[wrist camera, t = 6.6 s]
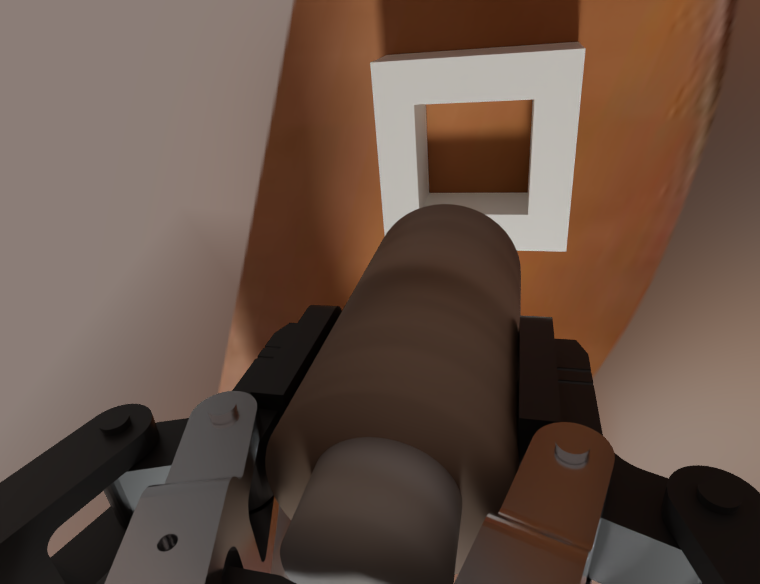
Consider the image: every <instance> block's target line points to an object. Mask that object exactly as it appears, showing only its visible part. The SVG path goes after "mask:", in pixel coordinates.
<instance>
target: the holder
mask: <svg viewBox="0 0 760 584" xmlns="http://www.w3.org/2000/svg"><path fill="white" fill-rule="evenodd" d="M584 58H585V48H584V47H583V46H582V45H581V44H580V43H579V42H567V43H552V44H538V45H523V46H509V47H494V48H480V49H465V50H451V51H436V52H422V53H407V54H393V55H385V56H383V57H381V58H379V59H377V60H375V61H373V62H371V63H370V65H371V77H372V89H373V101H374V113H375V125H376V137H377V149H378V161H379V172H380V184H381V196H382V208H383V220H384V232H385V235H386V234H387V232H388V231H389V230H390V228H391V227H392V226H393V225H394V224H395V223H396V222H397V221H398V220H399V219H401V218H402V217H404V216H405V215H406V214H408V213H410V212H412V211H414V210H416V209H419V208H422V207H425V206H430V205H437V204H454V205H460V206H465V207H468V208H471V209H474V210H477V211H479V212H481V213H483V214H485V215H486V216H488V217H490V218H491V219H493V220H494V221H495V222H496V223H497V224H499V225H500V226H501V227H502V228H503V229H504V230H505V232H506V233H507V234H508V236H509V237H510V238H511V240H512V242H513V244H514V246H515V248H516V250H519V251H565V252H566V247H567V236H568V226H569V215H570V205H571V194H572V184H573V173H574V163H575V152H576V142H577V131H578V121H579V110H580V100H581V90H582V79H583V69H584ZM530 99H533V103H532V121H531V140H530V158H529V177H528V193H429V173H428V147H427V121H426V104H441V103H464V102H486V101H508V100H530Z"/></svg>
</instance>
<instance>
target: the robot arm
mask: <svg viewBox="0 0 760 584" xmlns="http://www.w3.org/2000/svg"><path fill="white" fill-rule="evenodd" d="M341 312H342V310H341V308H340V307H339V306H321V305H310V306H309V307H308V308H307V310H306V311H305V313H304V314H303V316H302V317H301V319H300V320H299V322H298V323H289V324H288V325H286V326H285V327H283V328H282V329H280V330H279V331H277V332H276V333H274V335H273V336H272V337H271V339H270V340H269V341H268V343H267V344H266V345H265V348H263V350H262V351H261V352H260V354H259V355H258V358H257V359H255V360H254V362H253V363H252V365H251V366H250V367H249V369H248V370H247V371H246V373H245V374H244V375H243V377H242V378H241V379H240V381H239V382H238V384H237V385H236V386H235V388H234V389H233V390H232V391H228V392H222V393H219V394H216V395H213V396H211V397H209V398H207V399H205V400H204V401H202V402H201V403H200V404H198V405H197V406H196V408H195V409H194V410H193V411H192V413H191V415H190V417H189V418H187V419H179V420H172V421H164V422H157V423H155V420H154V418H153V415H152V413H151V410H150V409H149V408H148V407H146V406H144V405H140V404H126V405H121V406H117V407H114V408H111V409H109V410H107V411H105V412H103V413H101V414H99V415H98V416H96V417H95V418H93V419H92V420H90V421H89V422H87V423H86V424H85V425H83V426H82V427H80V428H79V429H77V430H76V431H75V432H73V433H72V434H70V435H69V436H67V437H66V438H64V439H63V440H61V441H60V442H59V443H57V444H56V445H54V446H53V447H51V448H50V449H48V450H47V451H45V452H44V453H43V454H41V455H40V456H38V457H37V458H35V459H34V460H33V461H31V462H30V463H28V464H27V465H25V466H24V467H22V468H21V469H20V470H18V471H17V472H15V473H14V474H12V475H11V476H9V477H8V478H6V479H5V480H4V481H2V482H1V483H0V584H296V583H294V582H293V581H291V580H290V579H289V578H288V576H287V575H286V573H285V571H284V569H283V566H282V563H281V559H280V547H281V543H282V540H283V538H284V536H285V533H286V531H287V529H288V527H289V524H290V522H291V520H290V518H289V517H288V516H287V515H286V514H285V513H284V511H283V510H282V508H281V507H280V505H279V504H278V502H277V500H276V498H275V496H274V495H273V493H272V490H271V488H270V485H269V482H268V479H267V474H266V467H265V456H266V450H267V445H268V442H269V440H270V437H271V435H272V433H273V431H274V430H275V428H276V426H277V424H278V423H279V421H280V419H281V417H282V416H283V414H284V412H285V410H286V409H287V407H288V405H289V403H290V402H291V400H292V398H293V396H294V395H295V393H296V391H297V389H298V388H299V386H300V384H301V382H302V381H303V379H304V377H305V375H306V373H307V372H308V370H309V368H310V366H311V365H312V363H313V361H314V359H315V358H316V356H317V354H318V352H319V351H320V349H321V347H322V345H323V344H324V342H325V340H326V338H327V337H328V335H329V333H330V331H331V330H332V328H333V326H334V324H335V323H336V321H337V319H338V317H339V316H340V314H341ZM518 450H519V469H518V471H517V473H516V475H515V478H514V480H513V482H512V484H511V487H510V489H509V491H508V493H507V496H506V498H505V500H504V502H503V504H502V507H501V509H500V511H499V512H498V514H497V513H495V512H490V513H489V514H488V515H487V516H486V518H485V520H484V522H483V524H482V526H481V528H480V530H479V532H478V534H477V536H476V538H475V540H474V543H473V545H472V547H471V549H470V551H469V553H468V555H467V557H466V560H465V562H464V564H463V566H462V568H461V570H460V572H459V574H458V577H457V579H456V581H455V583H454V584H592V580H594V581H597V582H598V583H601V584H760V493H759V492H758V491H757V490H756V489H755V488H754V487H752V486H751V485H750V484H749V483H747V482H746V481H744V480H743V479H741V478H739V477H737V476H735V475H734V474H731V473H729V472H727V471H724V470H721V469H718V468H714V467H709V466H699V465H698V466H687V467H683V468H681V469H678V470H677V471H675V472H674V473H673V474H672V475H671V476H670V477H669V479H668V478H665V477H662V476H659V475H656V474H654V473H651V472H648V471H645V470H642V469H640V468H637V467H635V466H633V465H631V464H629V463H628V462H626V461H624V460H623V459H621V458H620V457H619V456H618V455H616V454H615V453H614V451H613V448H612V446H611V445H610V443H609V442H608V441H607V440H606V438H605V437H603V434H602V429H601V424H600V418H599V412H598V407H597V401H596V396H595V390H594V386H593V379H592V373H591V368H590V362H589V357H588V353H587V352H586V351H585V350H584V349H583V348H582V347H581V345H580V344H579V343H578V342H577V341H576V340H567V339H554V330H553V319H552V317H537V316H520V322H519V371H518ZM103 490H104V493H105V495H106V497H107V499H108V501H109V503H110V505H111V507H109V508H108V509H107V510H106V511H105V512H104V513H103V514H101V515H100V516H99V517H98V518H97V519H95V520H94V521H93V522H92V523H91V524H90V525H88V526H87V527H86V528H85V529H84V530H83V531H81V532H80V533H79V534H78V535H77V536H75V537H74V538H73V539H72V540H71V541H70V542H68V543H67V544H66V545H65V546H64V547H63V548H61V549H60V550H59V551H58V552H57V553H56V554H54V555H53V556H52V557H51V558H50V557H49V555H48V552H47V546H48V542H49V540H50V537H51V536H52V535H53V533H54V532H55V531H56V529H57V528H58V527H60V526H61V525H62V524H63V523H64V522H66V521H67V520H68V519H69V518H70V517H72V516H73V515H74V514H75V513H76V512H78V511H79V510H80V509H81V508H83V507H84V506H85V505H86V504H88V503H89V502H90V501H91V500H92V499H94V498H95V497H96V496H97V495H99V494H100V493H101V492H102V491H103Z"/></svg>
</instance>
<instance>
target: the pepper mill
mask: <svg viewBox="0 0 760 584" xmlns="http://www.w3.org/2000/svg"><path fill="white" fill-rule="evenodd" d="M520 294H521V270H520V261H519V256H518V253H517V250H516V248H515V246H514V244H513V242H512V240H511V238H510V237H509V236H508V234H507V233H506V232H505V230H504V229H503V228H502V227H501V226H500V225H499V224H497V223H496V222H495V221H494V220H493V219H491V218H490V217H488V216H486V215H485V214H483V213H481V212H479V211H477V210H474V209H471V208H468V207H465V206H460V205H454V204H437V205H430V206H425V207H422V208H419V209H416V210H414V211H412V212H410V213H408V214H406V215H405V216H404V217H402V218H401V219H399V220H398V221H397V222H396V223H395V224H394V225H393V226H392V227H391V228H390V230H389V231H388V232H387V234H386V235H385V237H384V239H383V240H382V242H381V244H380V246H379V247H378V249H377V251H376V253H375V254H374V256H373V258H372V260H371V261H370V263H369V265H368V267H367V268H366V270H365V272H364V274H363V275H362V277H361V279H360V281H359V282H358V284H357V286H356V288H355V289H354V291H353V293H352V295H351V296H350V298H349V300H348V302H347V303H346V305H345V307H344V309H343V310H342V312H341V314H340V316H339V317H338V319H337V321H336V323H335V324H334V326H333V328H332V330H331V331H330V333H329V335H328V337H327V338H326V340H325V342H324V344H323V345H322V347H321V349H320V351H319V352H318V354H317V356H316V358H315V359H314V361H313V363H312V365H311V366H310V368H309V370H308V372H307V373H306V375H305V377H304V379H303V381H302V382H301V384H300V386H299V388H298V389H297V391H296V393H295V395H294V396H293V398H292V400H291V402H290V403H289V405H288V407H287V409H286V410H285V412H284V414H283V416H282V417H281V419H280V421H279V423H278V424H277V426H276V428H275V430H274V431H273V433H272V435H271V437H270V440H269V442H268V445H267V450H266V456H265V467H266V474H267V479H268V482H269V485H270V488H271V490H272V493H273V495H274V496H275V498H276V500H277V502H278V504H279V505H280V507H281V508H282V510H283V511H284V513H285V514H286V515H287V516H288V517H289V518H290V520H291V522H290V524H289V527H288V529H287V531H286V533H285V536H284V538H283V540H282V543H281V547H280V559H281V563H282V566H283V569H284V571H285V573H286V575H287V576H288V578H289V579H290V580H291V581H293V582H294V583H296V584H453V582H454V575H455V574H458V573H459V572H460V570H461V568H462V566H463V564H464V562H465V560H466V557H467V555H468V553H469V551H470V549H471V547H472V545H473V543H474V540H475V538H476V536H477V534H478V532H479V530H480V528H481V526H482V524H483V522H484V520H485V518H486V516H487V515H488V514H489V513H490V512H495V513H497V514H498V512H499V511H500V509H501V507H502V504H503V502H504V500H505V498H506V496H507V493H508V491H509V489H510V487H511V484H512V482H513V480H514V478H515V475H516V473H517V471H518V469H519V450H518V371H519V322H520Z"/></svg>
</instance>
